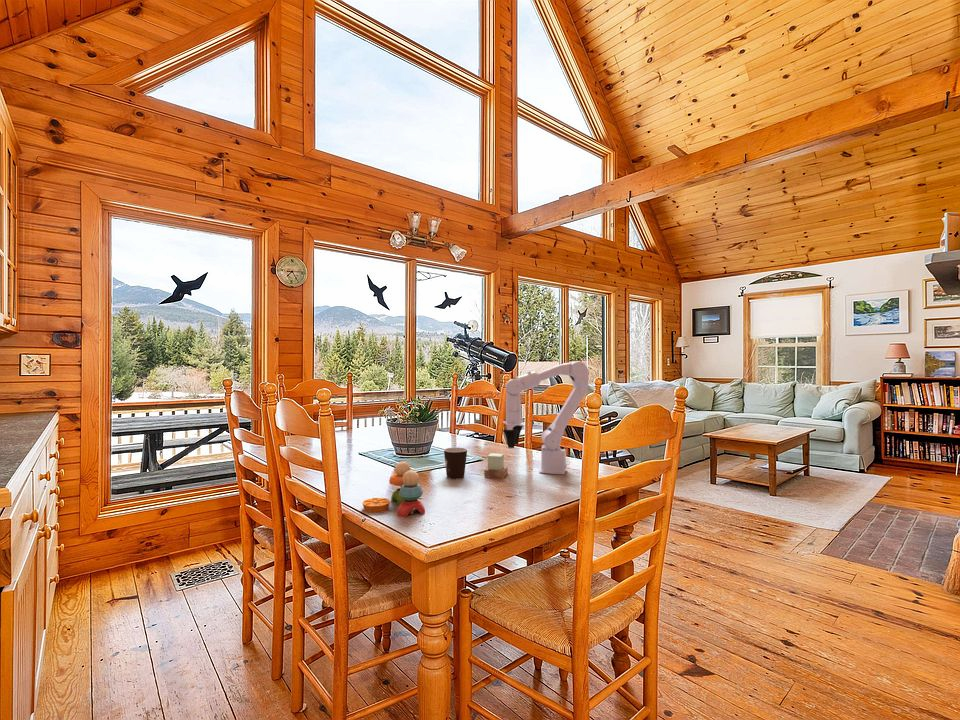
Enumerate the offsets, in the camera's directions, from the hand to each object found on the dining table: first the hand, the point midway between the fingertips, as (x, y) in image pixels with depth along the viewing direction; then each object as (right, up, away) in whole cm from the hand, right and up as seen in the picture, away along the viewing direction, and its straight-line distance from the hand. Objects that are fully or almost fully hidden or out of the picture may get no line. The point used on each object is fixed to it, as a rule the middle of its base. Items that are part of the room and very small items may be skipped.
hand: (513, 445), depth 186 cm
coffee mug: (-21, -10, -7) cm, 25 cm away
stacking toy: (-37, -11, -44) cm, 59 cm away
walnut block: (-7, -10, -5) cm, 13 cm away
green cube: (-7, -7, -5) cm, 11 cm away
